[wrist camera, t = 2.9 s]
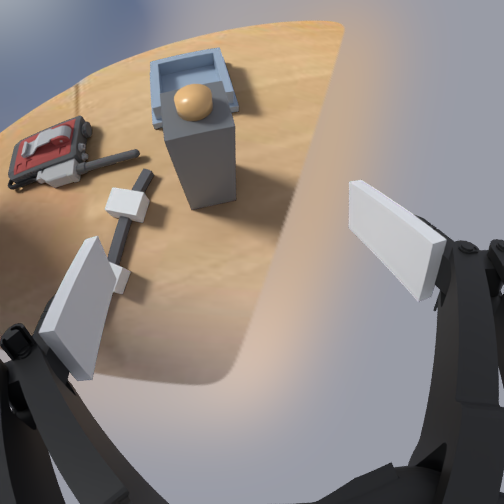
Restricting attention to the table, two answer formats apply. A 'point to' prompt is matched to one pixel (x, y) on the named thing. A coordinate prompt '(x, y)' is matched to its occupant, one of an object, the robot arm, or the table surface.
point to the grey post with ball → (201, 142)
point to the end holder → (188, 77)
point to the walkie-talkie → (57, 155)
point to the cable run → (126, 221)
